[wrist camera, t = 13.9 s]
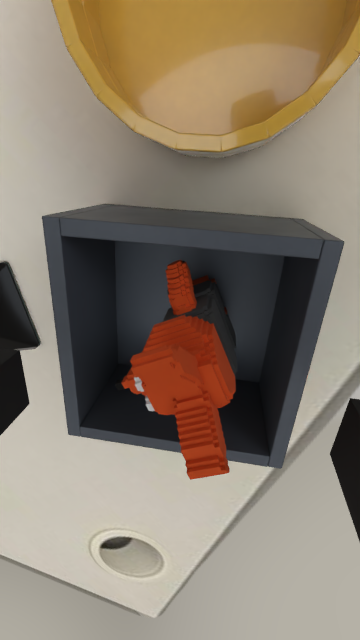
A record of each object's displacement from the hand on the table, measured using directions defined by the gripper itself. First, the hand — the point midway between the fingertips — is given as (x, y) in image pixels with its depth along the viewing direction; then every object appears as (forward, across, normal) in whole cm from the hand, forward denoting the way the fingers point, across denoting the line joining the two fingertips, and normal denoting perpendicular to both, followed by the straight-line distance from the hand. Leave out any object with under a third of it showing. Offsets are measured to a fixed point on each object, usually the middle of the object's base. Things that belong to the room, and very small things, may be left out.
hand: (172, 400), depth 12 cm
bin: (+11, 0, 0) cm, 11 cm away
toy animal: (+10, -1, 0) cm, 11 cm away
